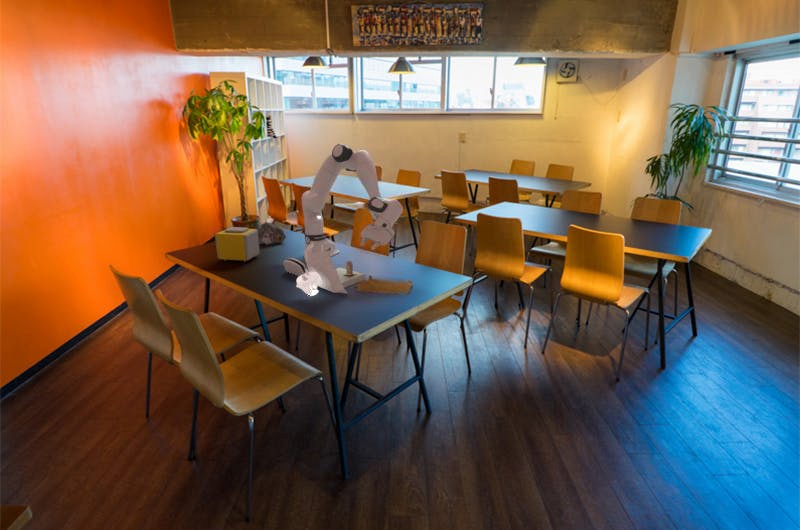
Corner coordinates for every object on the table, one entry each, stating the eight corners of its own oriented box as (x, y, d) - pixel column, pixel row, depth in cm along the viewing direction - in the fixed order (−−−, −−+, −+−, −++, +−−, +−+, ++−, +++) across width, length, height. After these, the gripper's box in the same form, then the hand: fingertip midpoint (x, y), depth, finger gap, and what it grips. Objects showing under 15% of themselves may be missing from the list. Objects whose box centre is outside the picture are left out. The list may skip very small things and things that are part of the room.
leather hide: (345, 292, 222) (345, 283, 220) (380, 274, 241) (381, 266, 239) (391, 313, 207) (391, 304, 204) (425, 292, 226) (425, 283, 224)
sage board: (340, 272, 246) (340, 267, 245) (364, 279, 236) (364, 274, 235) (315, 281, 233) (314, 275, 232) (340, 289, 222) (339, 283, 221)
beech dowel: (349, 279, 236) (349, 259, 233) (354, 280, 234) (354, 260, 231) (345, 280, 234) (344, 261, 231) (350, 282, 232) (349, 262, 229)
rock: (266, 221, 292) (265, 212, 304) (252, 237, 294) (251, 228, 306) (289, 237, 302) (286, 228, 314) (275, 253, 304) (273, 243, 316)
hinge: (312, 276, 241) (306, 260, 236) (305, 281, 238) (299, 265, 233) (293, 269, 251) (287, 254, 246) (287, 274, 249) (280, 258, 244)
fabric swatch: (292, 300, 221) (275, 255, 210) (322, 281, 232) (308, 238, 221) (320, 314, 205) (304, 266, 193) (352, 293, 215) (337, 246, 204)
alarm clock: (261, 256, 276) (258, 226, 270) (248, 264, 261) (245, 232, 255) (231, 254, 279) (228, 225, 273) (217, 262, 264) (213, 231, 259)
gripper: (367, 219, 244) (352, 239, 241) (390, 226, 229) (374, 248, 226) (374, 226, 248) (359, 246, 245) (397, 233, 233) (381, 255, 230)
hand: (366, 247), depth 236 cm, fingers open, 8 cm apart
